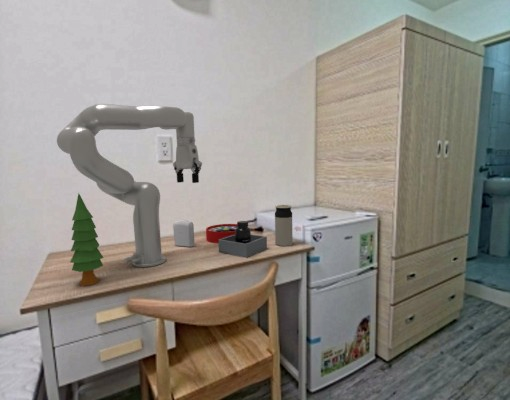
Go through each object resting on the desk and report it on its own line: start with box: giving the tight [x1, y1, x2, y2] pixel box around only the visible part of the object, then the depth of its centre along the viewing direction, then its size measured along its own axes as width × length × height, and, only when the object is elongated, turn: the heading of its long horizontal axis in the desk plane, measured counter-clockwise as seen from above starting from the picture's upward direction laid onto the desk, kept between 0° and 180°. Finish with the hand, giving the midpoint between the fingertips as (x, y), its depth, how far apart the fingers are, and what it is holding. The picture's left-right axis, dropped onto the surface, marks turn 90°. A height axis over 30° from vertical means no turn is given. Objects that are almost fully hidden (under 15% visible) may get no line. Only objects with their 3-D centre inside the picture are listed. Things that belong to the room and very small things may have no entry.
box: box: [218, 233, 268, 259], centre depth 131 cm, size 15×15×6 cm
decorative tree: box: [69, 192, 104, 287], centre depth 99 cm, size 10×9×30 cm
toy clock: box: [205, 223, 238, 245], centre depth 153 cm, size 20×6×20 cm
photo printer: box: [172, 219, 195, 248], centre depth 141 cm, size 10×4×12 cm, turn 63°
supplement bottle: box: [235, 220, 252, 244], centre depth 130 cm, size 7×7×12 cm
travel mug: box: [274, 204, 294, 247], centre depth 139 cm, size 8×8×18 cm
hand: (187, 182), depth 130 cm, fingers open, 9 cm apart
